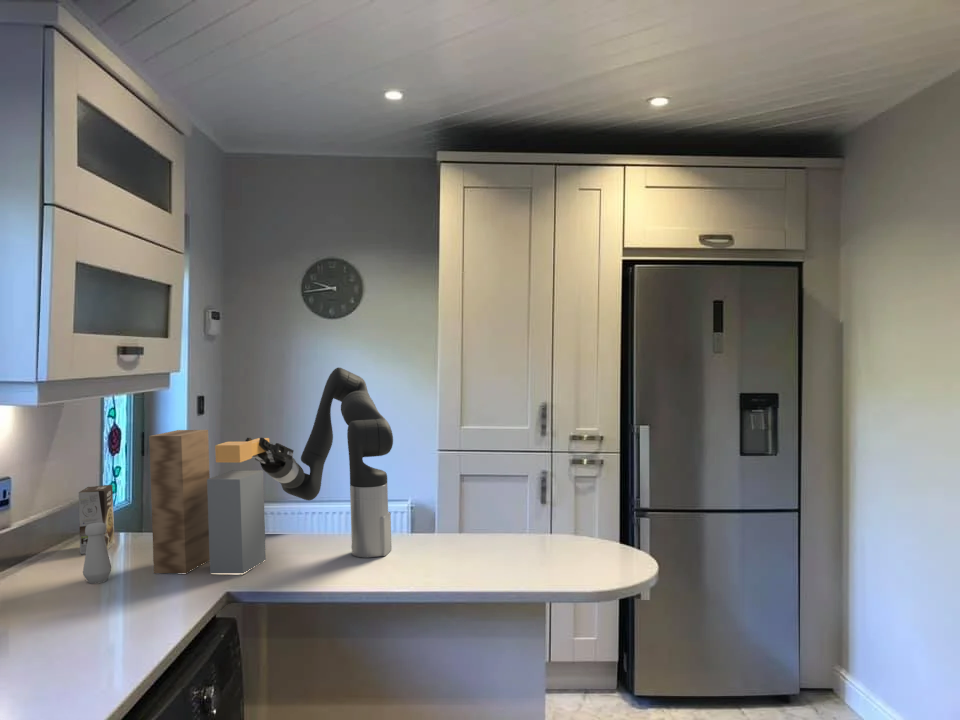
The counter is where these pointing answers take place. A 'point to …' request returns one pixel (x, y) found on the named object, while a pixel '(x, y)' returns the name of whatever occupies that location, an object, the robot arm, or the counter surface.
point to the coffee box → (96, 513)
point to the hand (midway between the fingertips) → (254, 441)
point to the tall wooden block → (179, 500)
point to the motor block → (236, 521)
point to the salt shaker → (96, 554)
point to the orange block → (237, 451)
